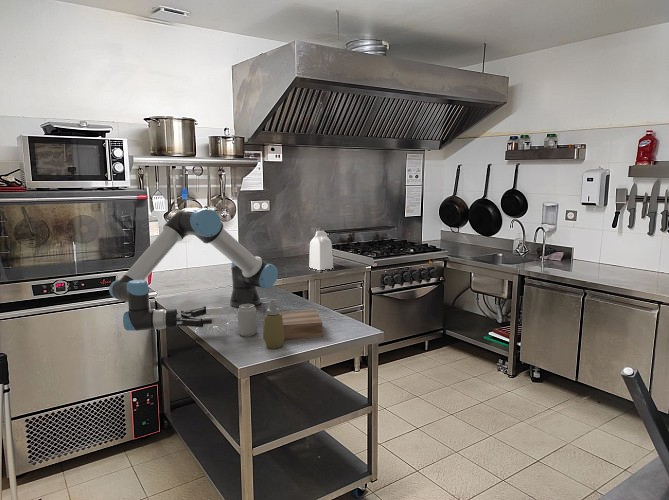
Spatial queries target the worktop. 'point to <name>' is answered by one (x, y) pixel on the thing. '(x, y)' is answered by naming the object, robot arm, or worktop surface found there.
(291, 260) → the worktop surface
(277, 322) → the squeeze bottle
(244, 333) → the can
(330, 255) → the milk
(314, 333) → the walnut block
